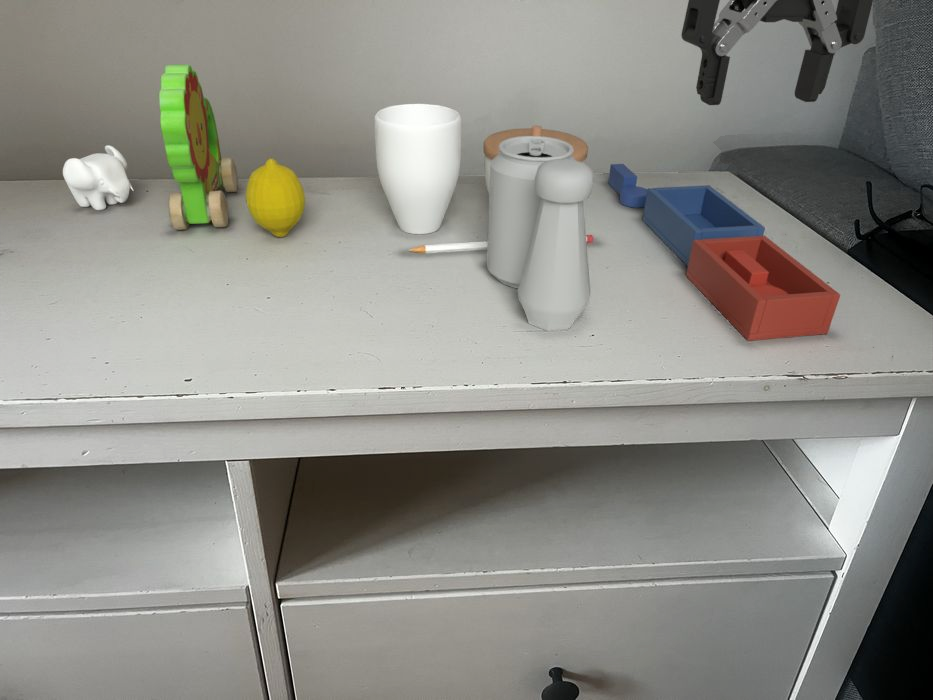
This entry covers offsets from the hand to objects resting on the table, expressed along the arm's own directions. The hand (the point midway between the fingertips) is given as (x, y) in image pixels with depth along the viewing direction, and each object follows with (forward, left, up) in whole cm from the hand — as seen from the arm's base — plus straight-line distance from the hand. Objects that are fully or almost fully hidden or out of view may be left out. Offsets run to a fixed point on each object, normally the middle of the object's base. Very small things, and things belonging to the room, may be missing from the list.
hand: (757, 101), depth 59 cm
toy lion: (+48, -21, -16) cm, 55 cm away
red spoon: (0, +6, -15) cm, 16 cm away
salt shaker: (+18, +6, -16) cm, 24 cm away
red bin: (0, +6, -16) cm, 17 cm away
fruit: (+40, -14, -16) cm, 45 cm away
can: (+18, -2, -16) cm, 24 cm away
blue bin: (-1, -7, -16) cm, 17 cm away
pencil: (+19, -8, -16) cm, 26 cm away
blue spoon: (+1, -20, -16) cm, 25 cm away
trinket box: (+14, -16, -16) cm, 26 cm away
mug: (+26, -16, -16) cm, 34 cm away
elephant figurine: (+59, -24, -16) cm, 66 cm away
